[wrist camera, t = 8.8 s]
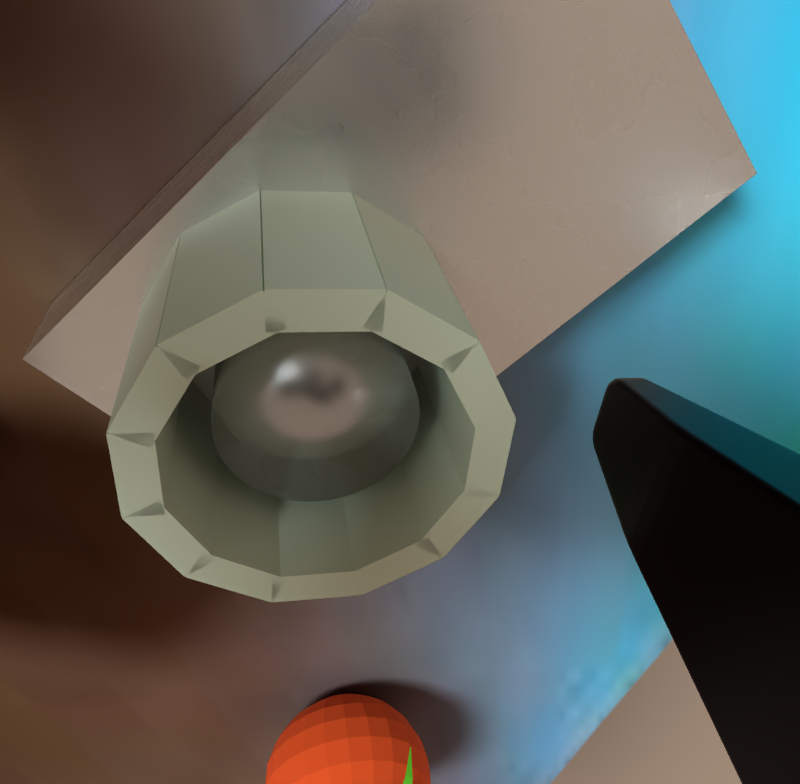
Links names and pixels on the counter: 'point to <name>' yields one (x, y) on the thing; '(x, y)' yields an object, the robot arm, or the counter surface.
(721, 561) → the robot arm
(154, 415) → the collar
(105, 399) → the beige rectangular block
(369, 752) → the clementine
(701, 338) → the counter surface
